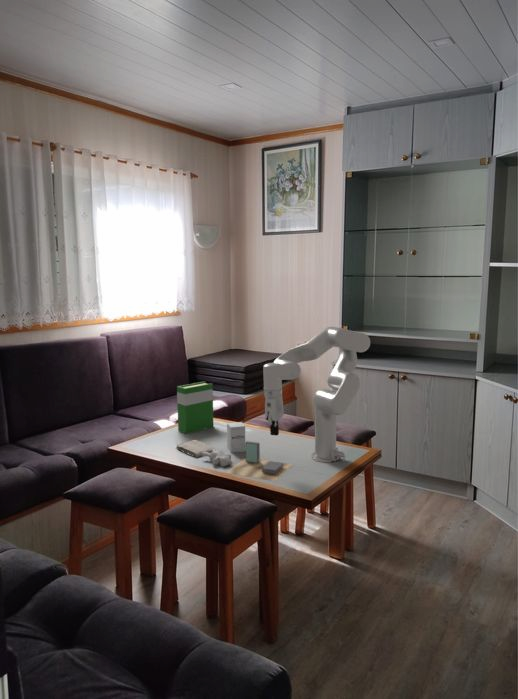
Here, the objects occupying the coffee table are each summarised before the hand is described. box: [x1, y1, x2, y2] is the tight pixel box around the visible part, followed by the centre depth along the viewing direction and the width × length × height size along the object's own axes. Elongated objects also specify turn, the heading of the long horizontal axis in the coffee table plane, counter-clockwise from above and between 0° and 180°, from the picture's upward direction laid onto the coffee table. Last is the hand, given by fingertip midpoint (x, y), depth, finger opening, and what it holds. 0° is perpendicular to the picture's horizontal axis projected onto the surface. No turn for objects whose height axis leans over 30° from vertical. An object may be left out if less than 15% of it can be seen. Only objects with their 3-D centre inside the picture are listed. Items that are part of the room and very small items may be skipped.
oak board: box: [225, 456, 293, 482], centre depth 236 cm, size 23×20×1 cm
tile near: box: [262, 460, 284, 475], centre depth 234 cm, size 6×2×9 cm
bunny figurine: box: [202, 448, 233, 468], centre depth 244 cm, size 10×5×15 cm
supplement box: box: [226, 421, 246, 453], centre depth 260 cm, size 7×7×13 cm
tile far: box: [245, 440, 261, 463], centre depth 243 cm, size 6×2×9 cm, turn 66°
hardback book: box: [176, 381, 214, 434], centre depth 293 cm, size 18×7×24 cm, turn 131°
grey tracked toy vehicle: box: [175, 439, 216, 458], centre depth 261 cm, size 12×18×3 cm, turn 43°
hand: (274, 434), depth 233 cm, fingers closed
